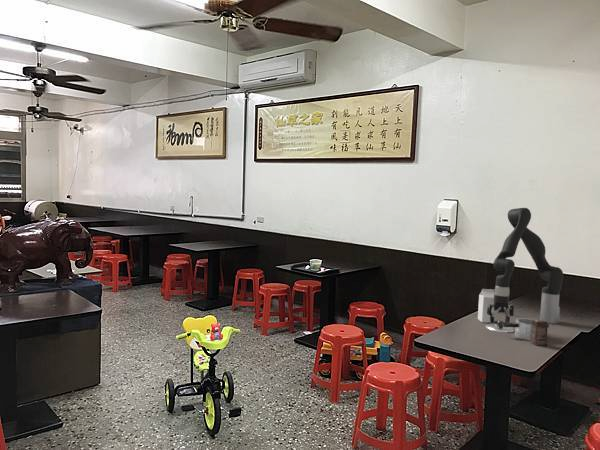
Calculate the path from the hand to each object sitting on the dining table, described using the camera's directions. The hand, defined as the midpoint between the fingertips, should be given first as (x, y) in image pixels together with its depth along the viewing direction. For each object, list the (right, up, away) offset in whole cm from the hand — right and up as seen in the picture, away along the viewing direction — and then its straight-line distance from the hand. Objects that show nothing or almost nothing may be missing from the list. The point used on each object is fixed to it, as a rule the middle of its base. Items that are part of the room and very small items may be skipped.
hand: (499, 322), depth 258 cm
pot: (+7, -4, -14) cm, 16 cm away
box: (+8, -5, -26) cm, 28 cm away
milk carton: (-2, -2, +14) cm, 14 cm away
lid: (0, -3, 0) cm, 3 cm away
